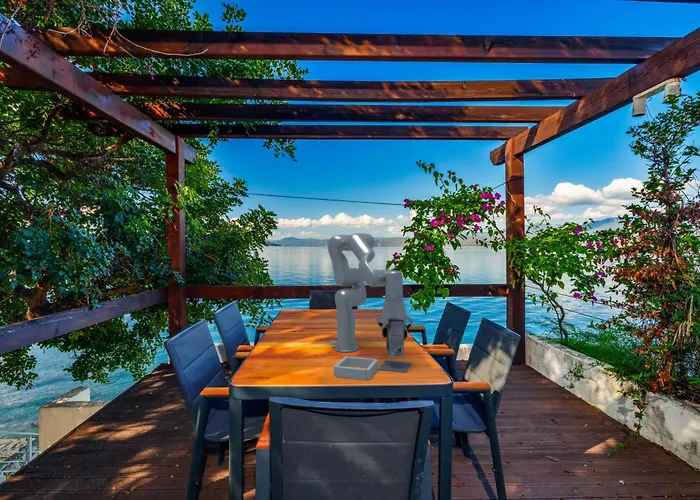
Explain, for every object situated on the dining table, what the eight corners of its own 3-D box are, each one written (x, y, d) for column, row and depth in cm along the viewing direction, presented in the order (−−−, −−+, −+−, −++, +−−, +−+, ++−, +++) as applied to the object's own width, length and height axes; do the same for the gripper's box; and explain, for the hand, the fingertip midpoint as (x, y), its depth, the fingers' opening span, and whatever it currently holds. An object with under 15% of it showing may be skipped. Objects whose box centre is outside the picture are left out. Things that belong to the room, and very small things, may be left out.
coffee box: (385, 351, 159) (385, 316, 159) (399, 351, 159) (399, 315, 159) (389, 357, 150) (389, 319, 150) (404, 357, 150) (404, 319, 150)
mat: (378, 370, 150) (378, 369, 150) (385, 361, 163) (385, 360, 163) (406, 372, 146) (406, 371, 146) (411, 363, 159) (411, 362, 159)
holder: (333, 376, 143) (333, 366, 143) (345, 365, 157) (345, 356, 157) (369, 380, 138) (368, 370, 138) (378, 368, 152) (378, 359, 152)
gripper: (373, 299, 154) (373, 338, 154) (412, 300, 148) (413, 341, 148) (377, 297, 161) (377, 334, 161) (415, 298, 155) (415, 337, 155)
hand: (394, 338), depth 155 cm, fingers closed on coffee box, 8 cm apart
